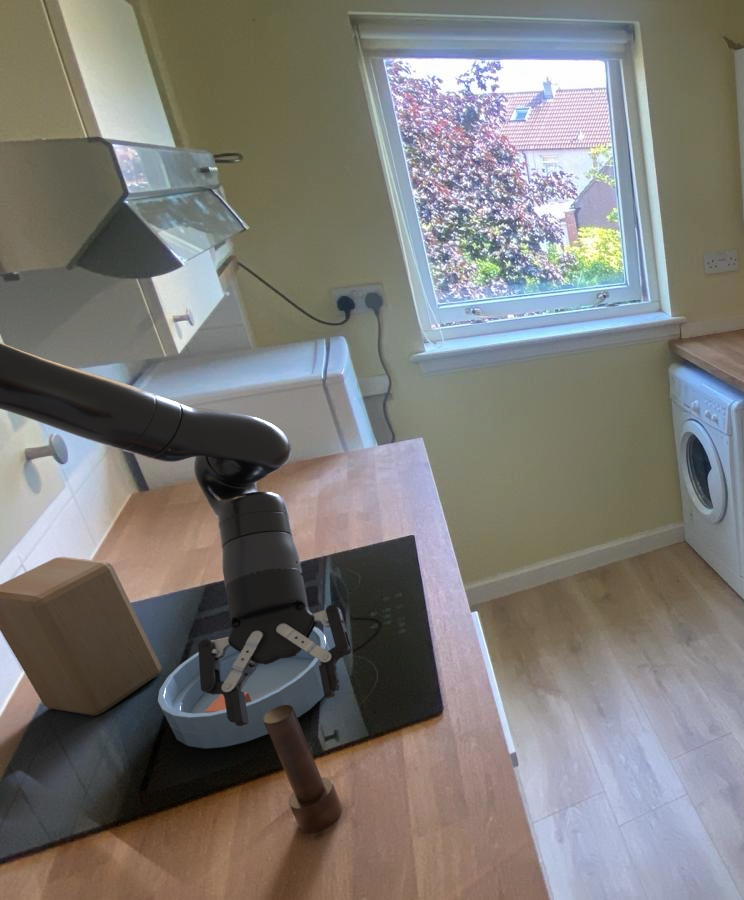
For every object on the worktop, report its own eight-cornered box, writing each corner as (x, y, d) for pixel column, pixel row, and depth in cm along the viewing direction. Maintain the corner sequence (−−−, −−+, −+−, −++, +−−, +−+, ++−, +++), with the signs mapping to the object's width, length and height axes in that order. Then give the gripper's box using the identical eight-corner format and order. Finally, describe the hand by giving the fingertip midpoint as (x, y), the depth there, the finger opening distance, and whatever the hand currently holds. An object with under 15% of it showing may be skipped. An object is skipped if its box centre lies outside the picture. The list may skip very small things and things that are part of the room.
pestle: (303, 840, 84) (257, 735, 77) (295, 816, 87) (250, 713, 80) (346, 817, 87) (305, 714, 80) (337, 794, 90) (297, 693, 83)
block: (239, 730, 99) (230, 710, 97) (213, 731, 99) (204, 711, 97) (256, 711, 102) (248, 691, 101) (231, 712, 102) (222, 692, 101)
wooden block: (115, 663, 113) (58, 553, 105) (167, 671, 111) (113, 559, 103) (42, 710, 104) (-27, 593, 96) (98, 719, 102) (32, 601, 94)
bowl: (195, 776, 93) (177, 740, 90) (159, 705, 104) (143, 672, 102) (358, 691, 106) (346, 658, 104) (310, 637, 118) (299, 606, 115)
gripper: (178, 588, 82) (198, 732, 77) (325, 552, 88) (351, 683, 84) (203, 603, 88) (223, 737, 84) (338, 568, 94) (364, 691, 90)
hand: (287, 710), depth 84 cm, fingers open, 8 cm apart
